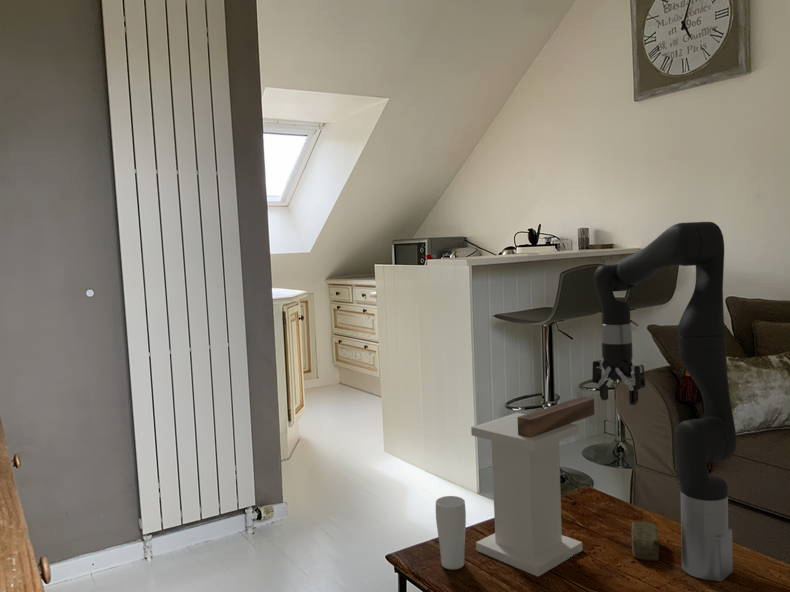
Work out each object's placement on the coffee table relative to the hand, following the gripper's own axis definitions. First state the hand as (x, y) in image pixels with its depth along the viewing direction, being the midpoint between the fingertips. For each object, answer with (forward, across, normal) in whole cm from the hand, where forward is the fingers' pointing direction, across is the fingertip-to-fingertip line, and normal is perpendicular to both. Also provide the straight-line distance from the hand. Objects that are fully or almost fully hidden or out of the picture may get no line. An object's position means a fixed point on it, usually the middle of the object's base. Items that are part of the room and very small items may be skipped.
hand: (618, 402), depth 172 cm
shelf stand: (+30, +2, +34) cm, 45 cm away
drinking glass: (+30, +9, +52) cm, 61 cm away
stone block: (+30, -16, +14) cm, 37 cm away
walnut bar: (0, -3, +28) cm, 28 cm away
